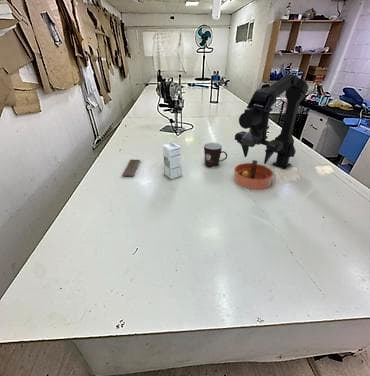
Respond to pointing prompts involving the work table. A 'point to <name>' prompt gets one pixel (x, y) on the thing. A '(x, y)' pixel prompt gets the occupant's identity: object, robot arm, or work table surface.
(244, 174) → the ball
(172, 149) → the syrup box
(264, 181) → the bowl
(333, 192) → the work table surface
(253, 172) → the stick
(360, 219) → the work table surface
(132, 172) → the wooden plank
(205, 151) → the coffee mug
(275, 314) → the work table surface
